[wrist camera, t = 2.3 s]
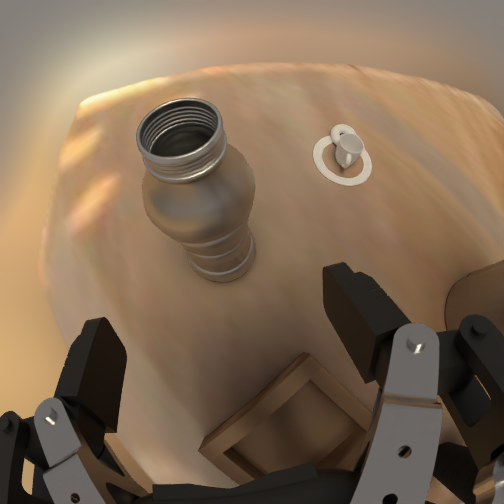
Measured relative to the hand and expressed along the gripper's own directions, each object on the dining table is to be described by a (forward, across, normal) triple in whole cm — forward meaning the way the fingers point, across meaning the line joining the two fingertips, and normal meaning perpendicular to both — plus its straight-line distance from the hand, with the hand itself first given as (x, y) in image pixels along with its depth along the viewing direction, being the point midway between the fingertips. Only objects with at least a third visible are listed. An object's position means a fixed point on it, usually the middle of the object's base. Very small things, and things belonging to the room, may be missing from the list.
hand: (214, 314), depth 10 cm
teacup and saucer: (+25, -20, +2) cm, 33 cm away
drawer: (+4, -3, +22) cm, 23 cm away
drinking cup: (-5, -20, +32) cm, 38 cm away
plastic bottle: (+19, 0, +8) cm, 20 cm away
